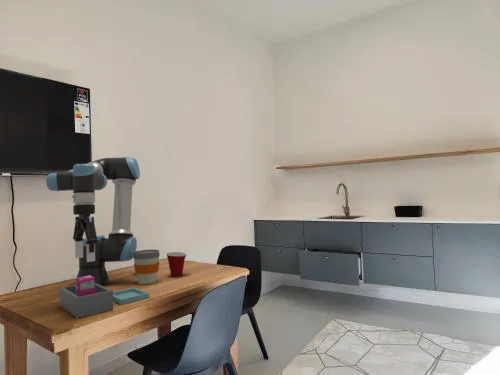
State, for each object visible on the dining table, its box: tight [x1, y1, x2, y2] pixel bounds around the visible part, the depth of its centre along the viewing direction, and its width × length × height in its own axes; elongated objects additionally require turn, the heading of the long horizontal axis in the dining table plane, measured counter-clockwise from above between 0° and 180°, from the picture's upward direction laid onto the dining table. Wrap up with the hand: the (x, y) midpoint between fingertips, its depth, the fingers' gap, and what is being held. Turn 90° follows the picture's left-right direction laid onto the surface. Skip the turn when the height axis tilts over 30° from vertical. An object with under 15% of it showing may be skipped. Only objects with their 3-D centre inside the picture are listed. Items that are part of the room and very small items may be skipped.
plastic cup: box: [165, 251, 187, 278], centre depth 179 cm, size 11×11×12 cm
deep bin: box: [59, 283, 114, 319], centre depth 129 cm, size 21×12×7 cm, turn 43°
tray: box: [113, 287, 150, 306], centre depth 140 cm, size 14×12×2 cm
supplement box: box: [74, 276, 95, 297], centre depth 129 cm, size 6×6×12 cm
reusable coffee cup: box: [132, 249, 161, 285], centre depth 168 cm, size 12×13×15 cm
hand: (84, 259), depth 129 cm, fingers open, 13 cm apart
